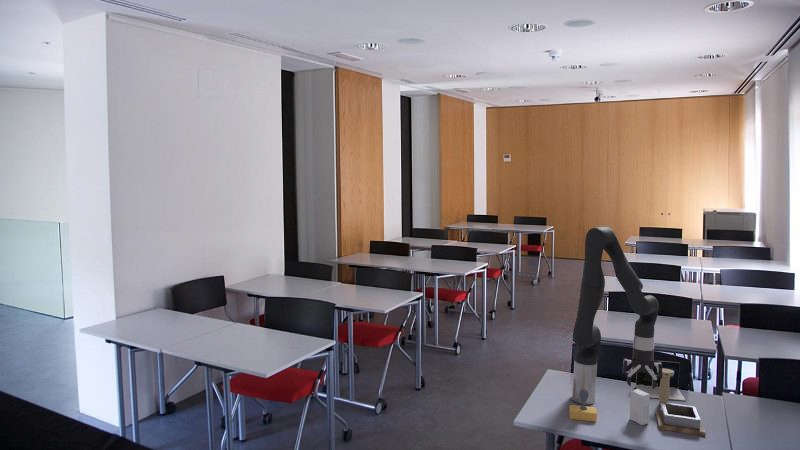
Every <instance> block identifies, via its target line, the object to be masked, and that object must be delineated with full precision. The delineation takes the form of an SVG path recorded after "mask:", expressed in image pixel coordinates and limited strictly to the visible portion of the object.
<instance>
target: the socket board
mask: <svg viewBox="0 0 800 450" xmlns="http://www.w3.org/2000/svg"><path fill="white" fill-rule="evenodd" d="M654 412H655V413H654V414H655V418H656V419H655V420H656V422H657V423H656V424H657V426H658V429H659V430H661V431H669V432H674V433H682V434H689V435H695V436H701V437H706V434H707V432H706V430H705V427H704V425H703V422H702V420H701V417H700V415H699V413H698V411H697V407H696V406H694V405H688V404H687V405H686V404H679V403H671V402H667V403H665V402H661V405H660V409H655V411H654Z"/></svg>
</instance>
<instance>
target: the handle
mask: <svg viewBox="0 0 800 450" xmlns="http://www.w3.org/2000/svg"><path fill="white" fill-rule="evenodd" d="M657 373H658V369H657ZM673 375H674V371H673V370H670V369H664V368H662V379H661V380H660V387H659V399H658V404H659V405H660V406H661V402H665V403H669V400H670V399H669V381H670V376H673Z"/></svg>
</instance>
